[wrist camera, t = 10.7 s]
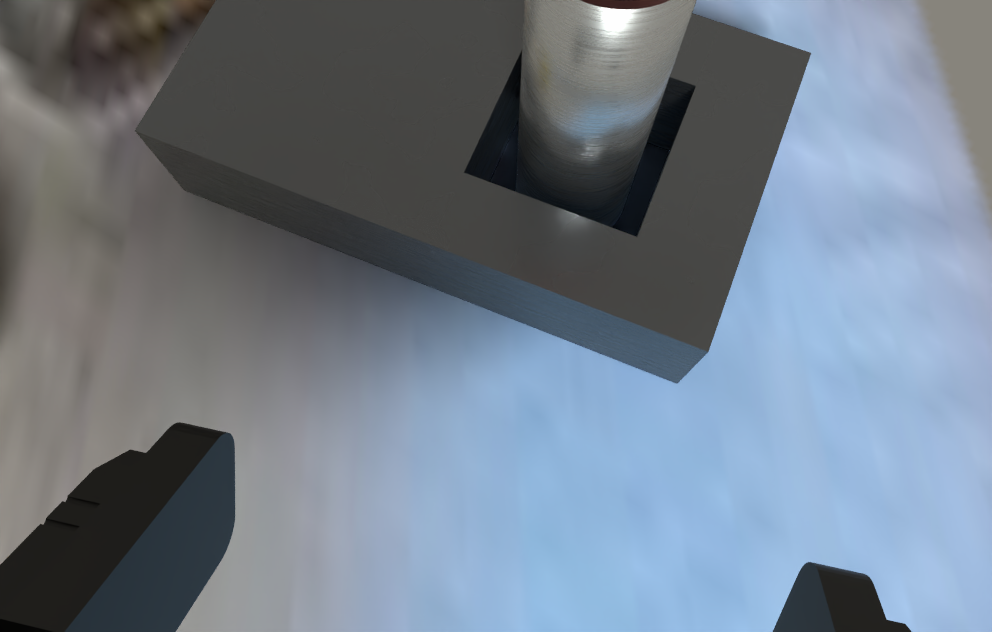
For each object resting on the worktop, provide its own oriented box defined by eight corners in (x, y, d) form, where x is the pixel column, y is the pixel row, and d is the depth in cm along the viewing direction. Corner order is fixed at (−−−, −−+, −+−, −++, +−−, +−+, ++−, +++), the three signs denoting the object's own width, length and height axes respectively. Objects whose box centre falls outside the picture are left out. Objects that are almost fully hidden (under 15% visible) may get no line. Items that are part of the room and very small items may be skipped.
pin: (498, 219, 24) (499, -93, 13) (539, 127, 25) (574, -239, 14) (603, 258, 24) (700, -27, 12) (641, 164, 25) (764, -182, 13)
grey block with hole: (184, 190, 25) (134, 130, 21) (317, -37, 27) (291, -122, 24) (677, 383, 23) (708, 352, 19) (769, 121, 25) (811, 52, 22)
